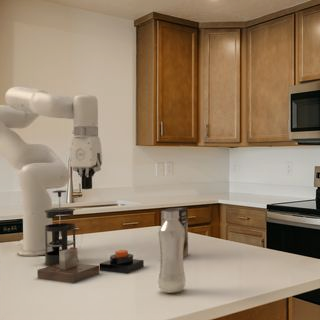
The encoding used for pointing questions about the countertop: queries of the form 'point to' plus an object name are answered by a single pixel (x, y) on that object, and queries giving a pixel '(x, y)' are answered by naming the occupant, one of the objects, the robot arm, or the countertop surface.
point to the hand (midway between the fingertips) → (86, 188)
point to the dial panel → (68, 273)
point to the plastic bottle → (171, 253)
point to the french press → (56, 243)
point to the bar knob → (68, 258)
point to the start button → (121, 253)
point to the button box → (121, 264)
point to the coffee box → (184, 221)
